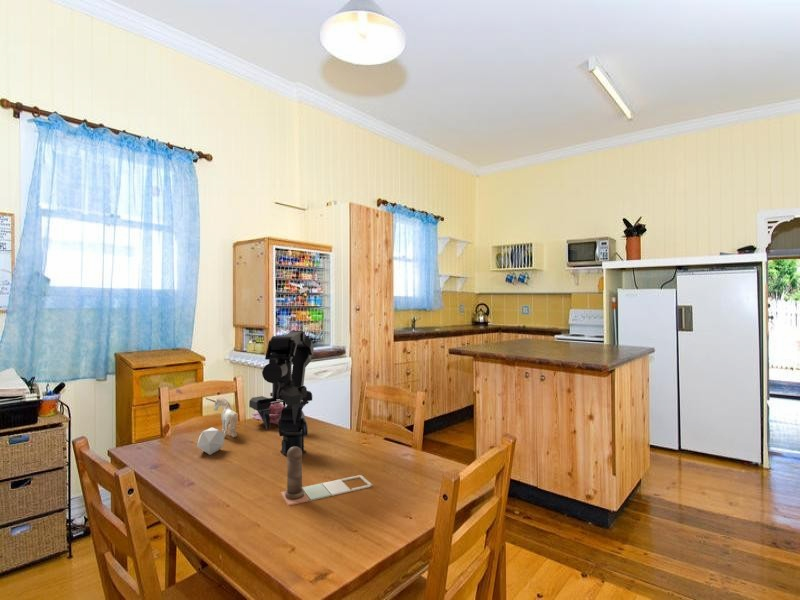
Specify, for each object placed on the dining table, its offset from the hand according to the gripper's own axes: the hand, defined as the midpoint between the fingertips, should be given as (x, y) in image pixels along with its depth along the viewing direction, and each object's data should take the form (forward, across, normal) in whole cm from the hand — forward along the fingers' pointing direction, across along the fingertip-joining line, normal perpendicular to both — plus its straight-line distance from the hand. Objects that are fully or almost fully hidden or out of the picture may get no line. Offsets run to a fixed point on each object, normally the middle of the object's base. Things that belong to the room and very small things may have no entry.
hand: (281, 427), depth 134 cm
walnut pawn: (+13, -7, -19) cm, 24 cm away
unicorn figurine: (+13, -1, +45) cm, 47 cm away
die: (+13, -10, +30) cm, 34 cm away
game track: (+13, +2, -22) cm, 25 cm away
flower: (+13, +20, +45) cm, 51 cm away
